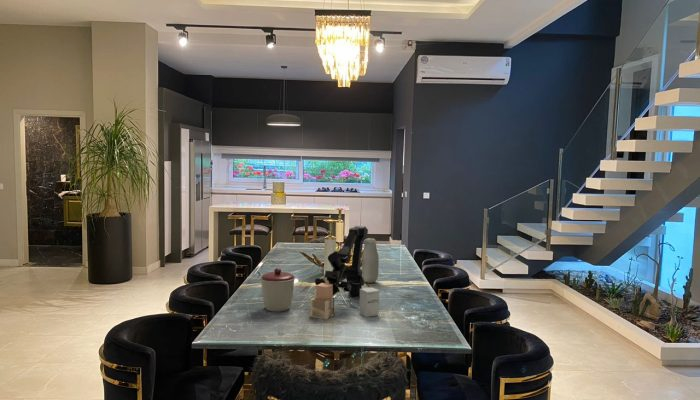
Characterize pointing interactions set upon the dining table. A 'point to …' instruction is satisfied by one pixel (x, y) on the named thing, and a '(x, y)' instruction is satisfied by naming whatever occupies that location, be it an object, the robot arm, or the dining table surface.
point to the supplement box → (369, 302)
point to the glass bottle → (370, 261)
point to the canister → (277, 290)
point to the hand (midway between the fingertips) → (327, 299)
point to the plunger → (324, 291)
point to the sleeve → (321, 308)
